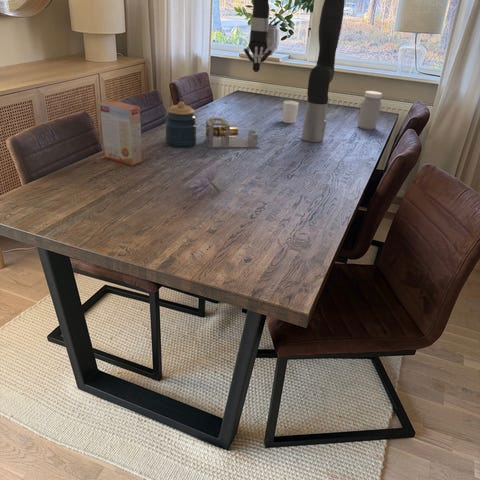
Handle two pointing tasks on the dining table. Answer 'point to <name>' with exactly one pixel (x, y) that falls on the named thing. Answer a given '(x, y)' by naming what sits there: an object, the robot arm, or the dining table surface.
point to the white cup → (290, 111)
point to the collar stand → (225, 141)
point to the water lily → (206, 179)
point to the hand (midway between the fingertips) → (255, 71)
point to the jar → (369, 110)
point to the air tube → (223, 132)
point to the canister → (180, 126)
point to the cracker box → (121, 132)
